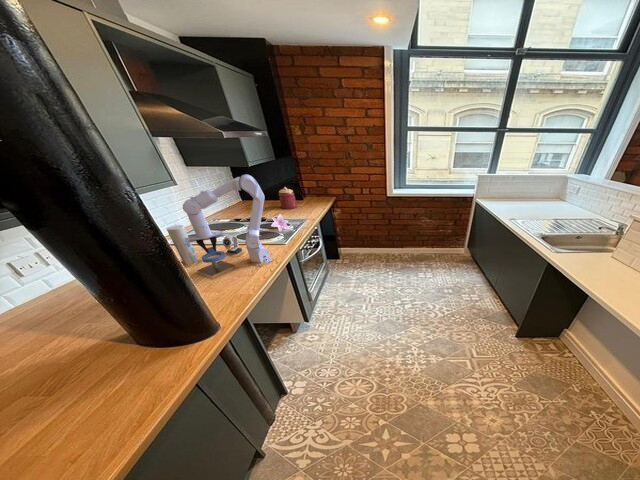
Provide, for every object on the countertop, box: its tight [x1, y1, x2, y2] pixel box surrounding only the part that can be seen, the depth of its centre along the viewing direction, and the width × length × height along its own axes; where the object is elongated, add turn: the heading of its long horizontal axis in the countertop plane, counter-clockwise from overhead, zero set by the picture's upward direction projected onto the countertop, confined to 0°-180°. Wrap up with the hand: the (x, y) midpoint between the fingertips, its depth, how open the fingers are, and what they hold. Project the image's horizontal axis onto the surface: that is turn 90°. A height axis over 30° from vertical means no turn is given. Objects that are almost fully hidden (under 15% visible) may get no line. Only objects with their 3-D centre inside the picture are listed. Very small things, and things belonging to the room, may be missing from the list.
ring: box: [201, 246, 227, 264], centre depth 117 cm, size 12×9×3 cm
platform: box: [196, 260, 237, 277], centre depth 123 cm, size 12×12×5 cm
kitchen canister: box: [278, 186, 298, 210], centre depth 218 cm, size 13×13×18 cm
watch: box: [222, 235, 243, 255], centre depth 137 cm, size 6×8×11 cm
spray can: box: [166, 224, 199, 265], centre depth 125 cm, size 6×6×20 cm
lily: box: [270, 213, 290, 233], centre depth 173 cm, size 12×12×10 cm
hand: (212, 252), depth 121 cm, fingers closed on ring, 2 cm apart
